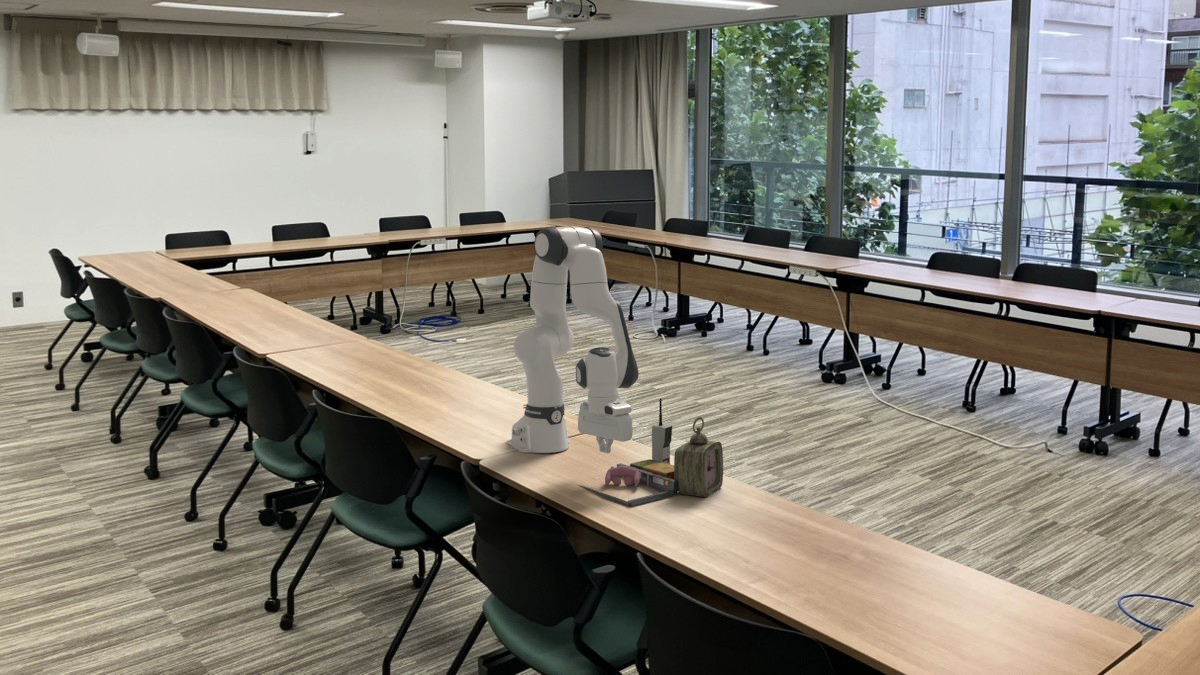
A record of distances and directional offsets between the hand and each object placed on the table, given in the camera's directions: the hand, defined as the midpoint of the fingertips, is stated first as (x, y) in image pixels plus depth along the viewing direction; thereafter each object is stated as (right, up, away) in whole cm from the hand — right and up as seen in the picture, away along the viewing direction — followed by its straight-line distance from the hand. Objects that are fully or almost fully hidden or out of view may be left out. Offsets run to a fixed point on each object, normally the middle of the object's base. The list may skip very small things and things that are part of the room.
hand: (605, 452), depth 295 cm
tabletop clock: (+26, -14, -6) cm, 31 cm away
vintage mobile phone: (+17, -10, +16) cm, 26 cm away
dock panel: (+5, -10, -6) cm, 13 cm away
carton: (+19, -12, -1) cm, 23 cm away
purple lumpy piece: (+5, -9, -6) cm, 12 cm away
